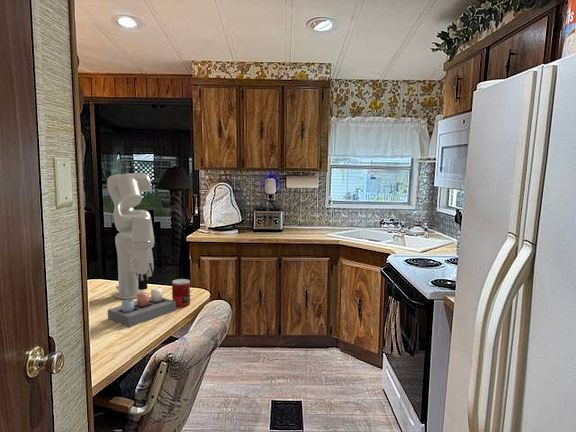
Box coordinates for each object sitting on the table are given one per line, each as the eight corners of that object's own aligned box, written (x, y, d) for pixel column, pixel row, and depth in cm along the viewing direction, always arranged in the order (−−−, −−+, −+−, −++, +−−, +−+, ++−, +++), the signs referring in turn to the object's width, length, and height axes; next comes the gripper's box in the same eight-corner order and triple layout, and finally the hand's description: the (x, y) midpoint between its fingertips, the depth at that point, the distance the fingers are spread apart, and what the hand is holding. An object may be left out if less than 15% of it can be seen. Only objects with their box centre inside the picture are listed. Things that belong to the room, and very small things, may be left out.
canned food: (185, 308, 170) (185, 284, 169) (169, 306, 171) (168, 282, 170) (193, 302, 177) (193, 279, 176) (177, 301, 179) (177, 278, 178)
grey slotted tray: (107, 319, 155) (107, 309, 155) (155, 304, 174) (155, 295, 174) (128, 327, 148) (128, 317, 147) (176, 310, 167) (175, 301, 166)
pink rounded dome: (134, 304, 160) (134, 294, 159) (144, 301, 164) (144, 291, 163) (141, 306, 157) (141, 296, 157) (151, 303, 161) (150, 293, 161)
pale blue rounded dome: (119, 312, 154) (119, 301, 154) (129, 309, 158) (129, 299, 158) (126, 315, 152) (126, 304, 151) (136, 311, 155) (136, 301, 155)
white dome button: (149, 300, 166) (148, 290, 165) (157, 297, 170) (157, 287, 169) (155, 302, 163) (155, 292, 163) (164, 299, 167) (164, 289, 167)
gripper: (122, 245, 159) (124, 288, 160) (145, 248, 151) (146, 294, 152) (138, 243, 165) (139, 284, 167) (161, 246, 157) (162, 290, 158)
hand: (142, 289), depth 159 cm, fingers closed
